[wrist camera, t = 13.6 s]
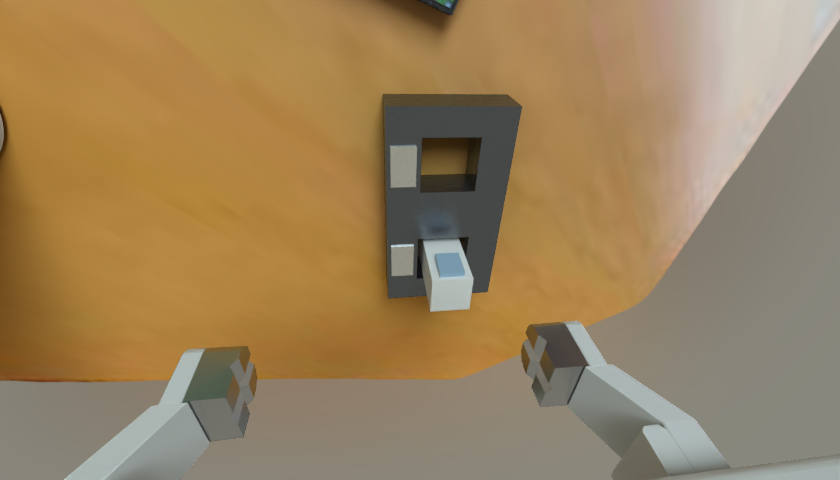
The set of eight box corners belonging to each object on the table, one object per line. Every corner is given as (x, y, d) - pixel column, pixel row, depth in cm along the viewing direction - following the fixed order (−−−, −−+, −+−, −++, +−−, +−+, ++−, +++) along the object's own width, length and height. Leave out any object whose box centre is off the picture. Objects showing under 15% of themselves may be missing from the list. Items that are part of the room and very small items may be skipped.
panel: (386, 276, 47) (388, 299, 44) (382, 94, 35) (385, 107, 31) (479, 271, 49) (487, 293, 45) (507, 94, 36) (522, 107, 33)
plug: (418, 252, 46) (430, 311, 38) (419, 220, 43) (432, 276, 35) (450, 250, 46) (469, 308, 38) (453, 218, 44) (474, 274, 36)
